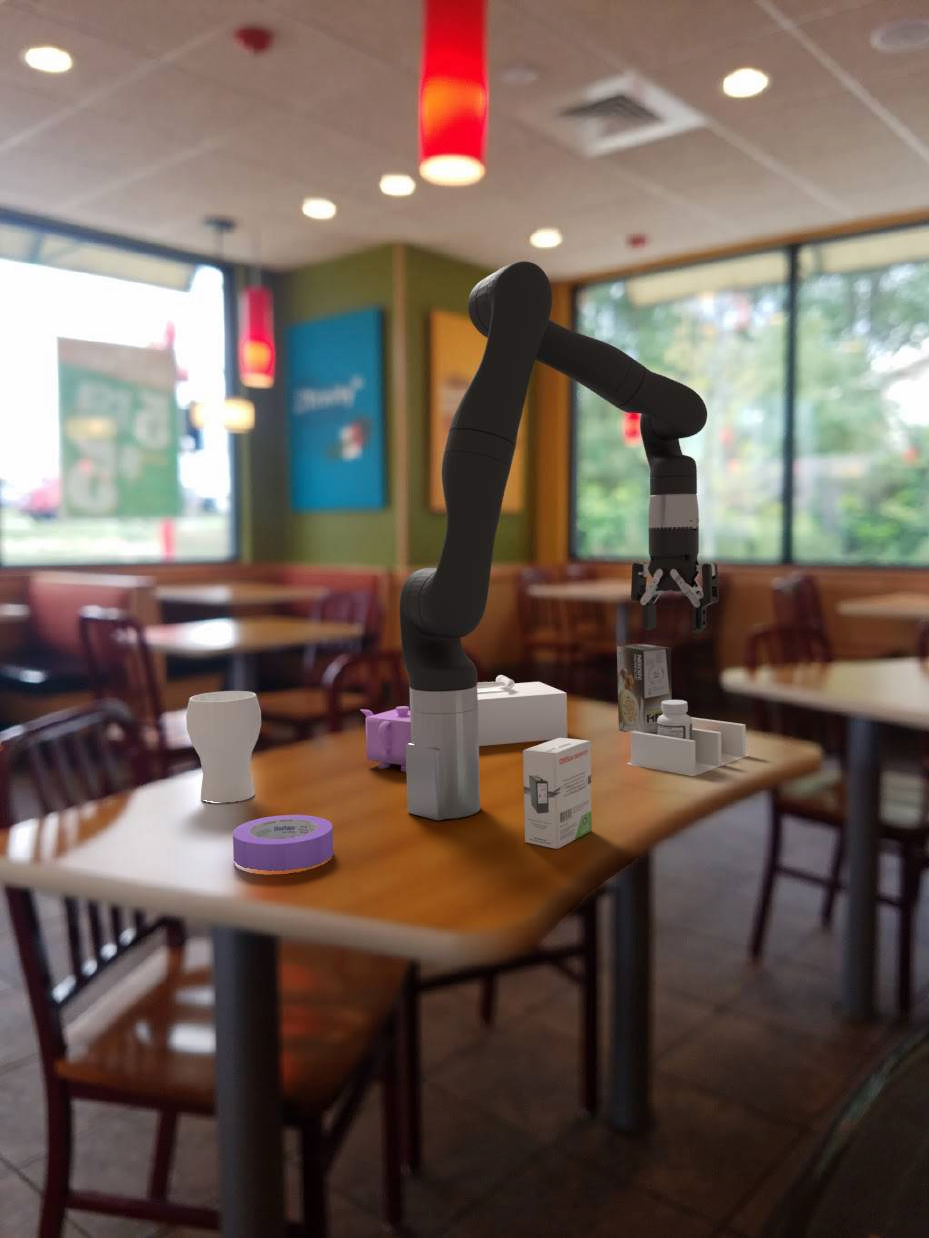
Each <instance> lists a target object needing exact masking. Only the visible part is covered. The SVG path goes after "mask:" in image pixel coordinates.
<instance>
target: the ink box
mask: <svg viewBox="0 0 929 1238" xmlns="http://www.w3.org/2000/svg"><path fill="white" fill-rule="evenodd" d="M591 743H592V742H591V741H590V740H586V739H579V738H578V739H577V738H569V737H567V738H557V739H553V740H547V741H546V742H542V743H540V744H538V745H537V744H536V745H534V746H532V747H528V748H525V749H524V750H522V759H523V760H522V764H523V765H522V766H523V767H522V768H523V771H522V772H523V806H524V807H523V809H524V810H523V813H524V814H523V816H524V842H525V843H526V844H532V845H536V846H542V847H545V848H551V849H557V850H559V849H560V848H563V847H564V846H566V845H568V844H570V843H572V842H573V841H575V840H577V839H579V838H581V837H583V836H584V835H585V836H586V835H587V834H588V833H590V832H591V831H592V827H593V825H592V823H593V821H592V817H593V816H592V751H591V750H592V748H591V747H592V746H591V745H592V744H591Z"/></svg>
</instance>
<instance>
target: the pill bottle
mask: <svg viewBox="0 0 929 1238" xmlns="http://www.w3.org/2000/svg"><path fill="white" fill-rule="evenodd" d="M688 708H689V706H688V702H687V701H686V700H683V699H672V700H665V701H662V703H661V709H662V712H663V715H661V716H659V717H658V720H657V731H656V735H662V736H669V737H675V738H682V739H688V740H692V718H691V717H692V716H690V715H688V714H687V712H688V710H689V709H688Z"/></svg>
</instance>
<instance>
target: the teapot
mask: <svg viewBox="0 0 929 1238" xmlns="http://www.w3.org/2000/svg"><path fill="white" fill-rule="evenodd" d="M360 712H361V713H363V714H364V715H365V737H366V739H365V740H366V741H365V742H366V761H369V762H376V763H377V762H378V763H379V765H378V766H377V768H378V769H389V768H391V765H397V766H398V765H399V766H401V767H400V771H401V772H402V773H407V771H406V745H407V744H409V743H411V720H410V706H406V705H403V706H402V705H401V706H400V705H399V706H396V707H395V709H392V710H388V711H384V712H380V713H377V714H374V712H372V711H371V710H370V709H365V708H364V709H362V708H361V709H360Z"/></svg>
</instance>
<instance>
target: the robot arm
mask: <svg viewBox="0 0 929 1238" xmlns="http://www.w3.org/2000/svg"><path fill="white" fill-rule="evenodd" d="M550 282H551V281H550V279H549V277H548V275H547V273H546V272H545V271H544V270H543V269H542V268H541V266H539V265H538V264H536V263H534V262H531V261H526V260H525V261H524V260H522V261H516V262H512V263H511V264H507V265H505V266H503V267H501V268H499V269H498V270H496V271H495V272H493V273H491V274H489V275H487V276H486V277H484V278H483V279H482V280H480V281H479V282H478V283H477V284H476V285H475V286H474V287H473V288H472V290H471V292H470V294H469V296H468V302H467V311H468V315H469V319H470V321H471V324H472V325H473V327H475V329H476V330H477V332H478V333H480V334H481V335H482V336H484V337H485V338H487V339H486V344H485V347H484V348H485V349H484V352H483V355H482V358H481V361H480V363H479V365H478V368H477V369H476V372H475V374H474V375H473V377H472V379H471V380H470V382H469V385H468V387H467V388H466V390H465V392H464V394H463V396H462V398H461V399H460V401H459V404H458V405H457V408H456V410H455V412H454V415H453V417H452V420H451V423H450V426H449V430H448V434H447V440H446V443H445V447H444V451H443V455H442V457H443V458H442V463H441V483H442V492H443V497H444V503H445V510H446V531H445V536H444V541H443V546H442V550H441V553H440V556H439V557H440V558H439V560H438V564H437V567H423V568H421V569H419V570H417V571H414V572H413V573H412V574H411V575H409V577H408V578H406V580H405V582H404V583H403V586H402V589H401V592H400V598H399V625H400V640H401V652H402V660H403V664H404V667H405V670H406V672H407V674H408V682H409V683H408V684H409V711H410V720H411V743H409V744H407V745H406V771H407V772H406V792H407V794H406V795H407V798H406V800H407V801H406V802H407V813H410V814H412V815H416V816H419V817H422V818H423V817H424V818H426V819H430V820H432V821H442V820H447V819H460V818H465V817H468V816H472V815H475V814H477V813H478V812H480V810H481V787H480V786H481V781H480V777H481V776H480V775H481V774H480V746H479V736H478V695H477V683H478V672H477V671H478V670H477V666H476V665H475V663H474V662H473V661H472V660H471V659H470V658H469V657H468V655H467V654H466V652H465V649H464V648H463V644H462V638H465V637H466V636H468V635H470V634H471V633H473V632H474V631H475V630H476V629H477V627H478V626H479V624H480V623H481V621H482V619H483V617H484V614H485V611H486V606H487V602H488V596H489V590H490V589H489V588H490V581H491V580H490V579H491V570H492V562H493V554H494V546H495V540H496V534H497V530H498V525H499V522H500V521H499V520H500V517H501V512H502V505H503V502H504V497H505V496H504V495H505V492H506V487H507V483H508V480H509V476H510V473H511V469H512V468H511V467H512V463H513V457H514V455H515V451H516V450H515V449H516V444H517V438H518V435H519V429H520V425H521V420H522V416H523V412H524V407H525V403H526V399H527V394H528V388H529V384H530V380H531V376H532V372H533V368H534V365H535V363H536V361H537V362H539V363H541V364H543V365H545V366H547V367H550V368H552V369H554V370H555V371H557V372H559V373H561V374H563V375H564V376H566V377H568V378H569V379H572V380H573V381H575V382H576V383H579V384H580V385H582V386H584V387H585V388H587V389H588V390H590V391H591V392H593V393H594V394H596V395H598V396H599V397H600V398H602V399H603V400H605V401H606V402H608V403H609V404H611V405H612V406H614V407H615V408H618V410H620V411H623V412H625V413H629V414H640V417H639V418H640V419H639V429H640V435H641V439H642V444H643V448H644V453H645V457H646V459H647V463H648V467H649V504H648V554H649V557H650V560H649V563H646V562H643V561H642V562H635V563H632V567H631V585H630V586H631V588H630V598H631V600H632V601H634V602H635V601H636V602H638V603H640V605H641V611H642V613H641V615H642V620H641V621H642V625H643V626H644V628H645V630H654V629H655V630H656V627H657V605H656V602H657V600H658V599H659V597H660V596H661V595H663V593H664V592H669V591H673V592H678V593H679V592H682V593H683V595H684V596H686V597H687V599H689V602H690V603H691V604H692V605H693V607H692V608H691V631H692V633H696V634H697V633H702V632H704V629H706V627H707V612H708V611H707V609H708V607H709V606H710V605H712V604H716V603H718V602H719V601H720V589H719V574H718V572H719V571H718V568H719V567H718V564H717V563H715V562H708V563H703V564H700V563H699V560H698V555H699V553H700V550H699V549H700V546H699V545H700V544H699V541H700V539H699V538H700V536H699V534H700V531H699V530H700V529H699V528H700V524H699V523H700V518H699V516H700V513H699V511H700V510H699V502H698V495H697V494H698V468H697V461H696V460H695V459H694V458H693V457H692V456H689V455H685V454H683V452H682V448H681V444H680V439H686V438H691V437H693V436H695V435H697V434H698V433H700V432H701V431H702V430H703V429H704V427H705V426H706V424H707V420H708V409H707V406H706V403H705V402H704V400H703V399H702V397H701V396H700V395H699V394H698V393H697V392H696V391H695V390H694V389H693V388H691V387H689V386H688V385H686V384H683V383H681V382H679V381H676V380H674V379H671V378H670V377H668V376H665V375H662V374H659V373H656V372H654V371H651V370H649V369H648V368H647V367H646V366H645V365H643V364H642V363H640V362H638V360H636V359H634V357H631V355H628V354H627V353H626V352H624V351H622V350H621V349H619V348H617V347H615V346H614V345H612V344H610V343H608V342H605V341H602V340H600V339H596V338H595V337H594V338H593V337H591V336H587V335H585V334H582V333H579V332H576V331H574V330H571V329H568V328H566V327H564V326H562V325H561V324H558V323H556V322H555V321H553V320H551V319H550V317H551V313H552V306H553V291H552V290H553V289H552V285H551V283H550ZM649 575H650V576H651V580H650V582H649V583H648V585H647V581H648V580H647V579H648V576H649ZM698 575H699V576H700V577H701V579H702V586H701V584H700V583H699V582H698V580H697V579H696V578H697V576H698Z"/></svg>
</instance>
